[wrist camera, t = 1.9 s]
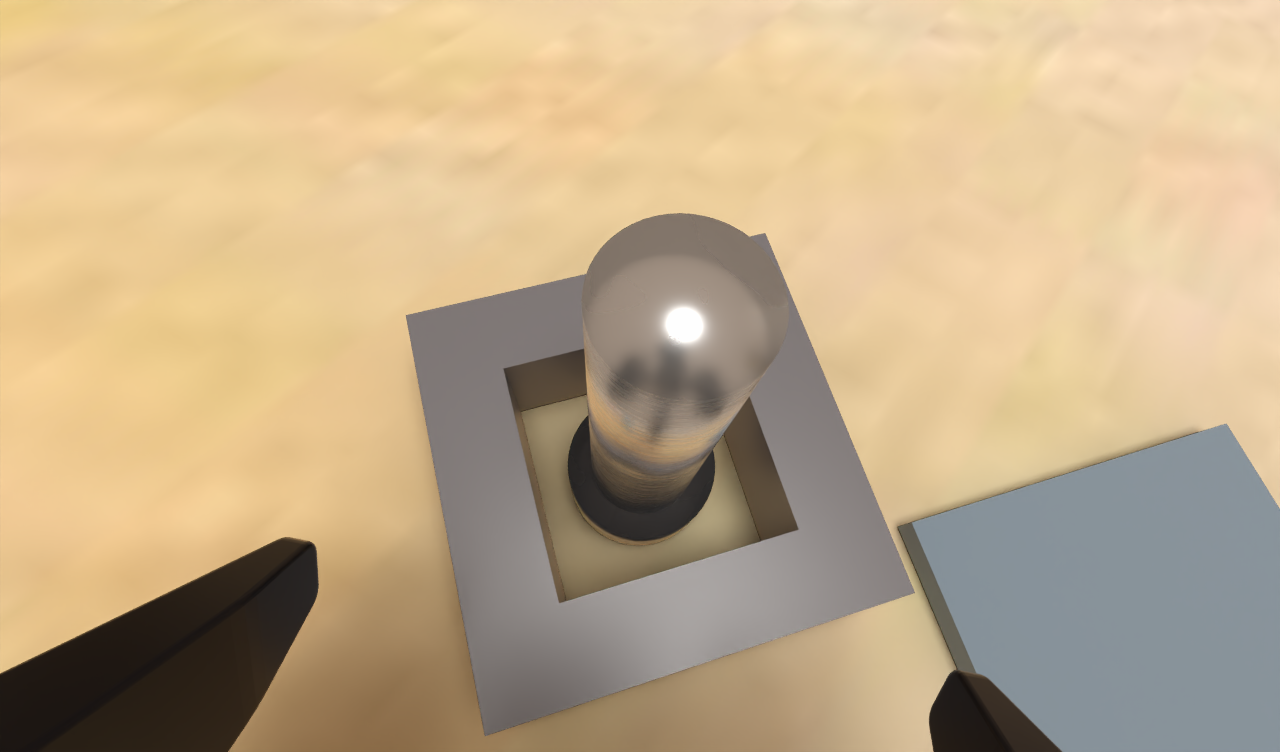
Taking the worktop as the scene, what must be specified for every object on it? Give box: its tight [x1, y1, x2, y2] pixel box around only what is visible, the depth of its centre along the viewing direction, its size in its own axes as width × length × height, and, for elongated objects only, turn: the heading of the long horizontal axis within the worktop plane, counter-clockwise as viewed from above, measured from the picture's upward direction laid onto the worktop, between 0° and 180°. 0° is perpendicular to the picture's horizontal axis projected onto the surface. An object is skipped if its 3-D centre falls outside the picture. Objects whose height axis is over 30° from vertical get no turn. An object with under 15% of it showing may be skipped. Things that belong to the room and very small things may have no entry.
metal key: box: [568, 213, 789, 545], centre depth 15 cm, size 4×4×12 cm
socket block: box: [406, 233, 915, 736], centre depth 19 cm, size 11×11×4 cm
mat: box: [898, 424, 1280, 752], centre depth 19 cm, size 12×12×1 cm
